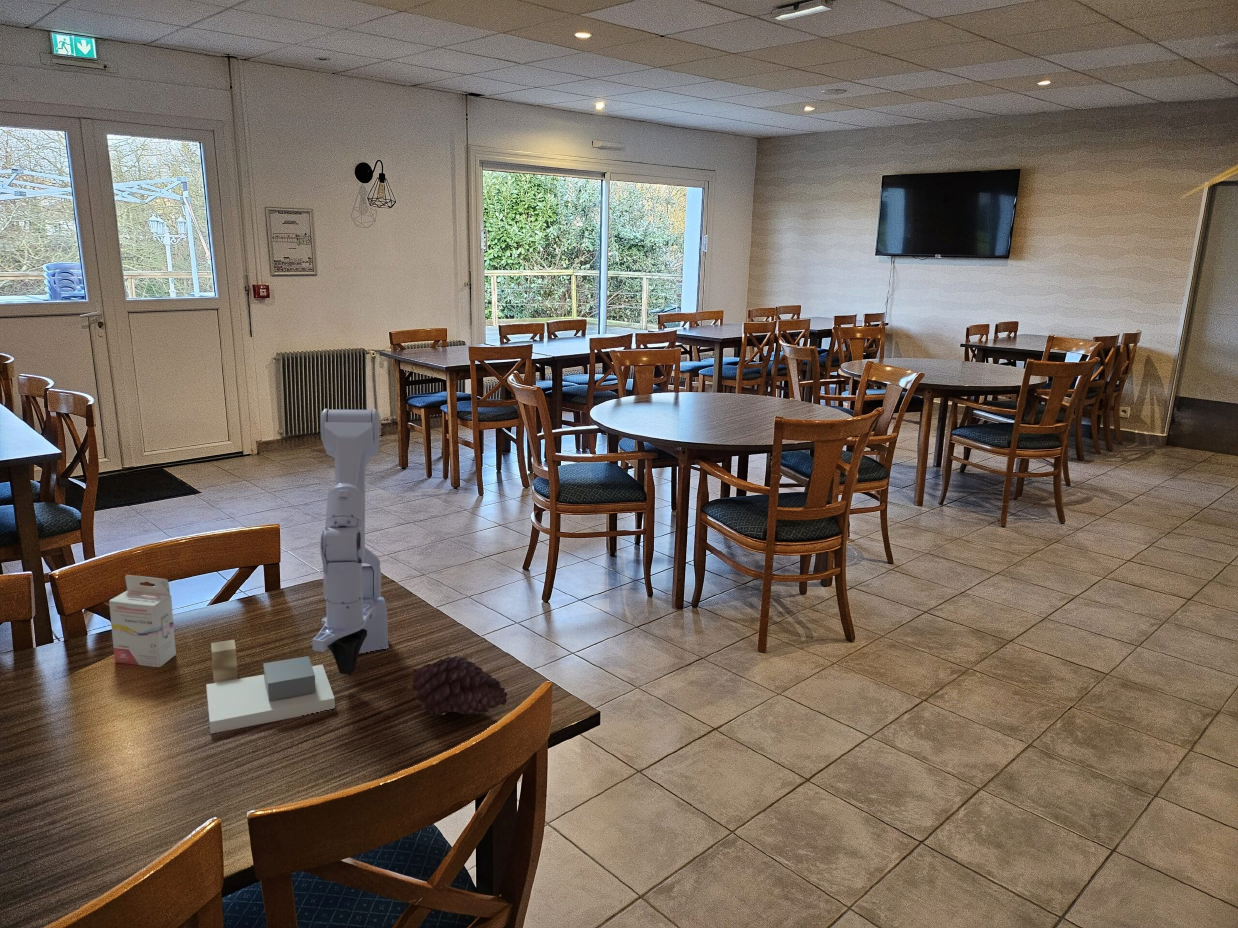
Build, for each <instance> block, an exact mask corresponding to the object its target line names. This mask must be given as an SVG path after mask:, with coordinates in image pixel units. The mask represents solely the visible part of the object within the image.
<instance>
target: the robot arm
mask: <svg viewBox="0 0 1238 928" xmlns="http://www.w3.org/2000/svg"><path fill="white" fill-rule="evenodd" d="M380 422H381V421H380V412H379V411H378V410H377V409H376V408H372V409H329V408H324V409H323V410H322V411H321V414H320V438H321V441H322V444H323V447H324V448H323V449H324V450H325V452H326V455H327V456H329V457H332V458H334V477H335V486H333V487H332V488H331V489H330V490H329V491H328V492H327V497H326V499H327V500H326V511H325V512H326V514H325V526H324V527H325V528H324V530H323V529H322V531H321V534H320V539H319V541H320V542H319V543H320V545H319V547H320V548H319V550H320V551H319V552H320V556H321V561H322V572H323V573H322V574H323V575H322V576H323V579H322V590H323V591H322V593H323V598H324V600H325V606H326V607H325V608H326V609H325V611H326V612H325V613H326V616H325V617H323V618H322V619H321V624H322V625H323V626H322V628H321V629H320V630H319V632H318V633H317V635H316V636H314V637H313V638H312V639H311V640H312V641H311V642H312V651H316V652H321V653H324V652H326V651H327V649H329V650H330V652H331V654H332V655H333V658H334V660H335V665H336V666H337V670H338V673H339V674H341V675H345V676H346V675H347V676H350V675H352V674H353V673H355V669H356V666H357V662H358V657H359V655H361V653H362V654H367V653H366V652H368V653H371V652H370V651H374V652H376V651H375V650H380V649H386V650H388V649H390V647H389V635H388V634H389V631H388V630H389V625H388V619H389V618H388V609H387V603H386V600H385V598H384V596H381V595H382V594H381V593H382V568H381V561H380V560H381V559H380V558H379V556H378V555H377V554H376V553H374V552H372V551H371V550H370V549H368V548H367V547H366V469H367V465H368V462H369V459H371V458H373V457H375V456H376V455H378V454H379V453H378V452H379V451H378V450H380V436H381V435H380V433H381V432H380V431H381V428H380V426H381V425H380ZM363 564H365V565H363ZM366 564H367V565H366ZM387 648H388V649H387ZM380 651H381V650H380Z"/></svg>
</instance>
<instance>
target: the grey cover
mask: <svg viewBox="0 0 1238 928" xmlns="http://www.w3.org/2000/svg"><path fill="white" fill-rule="evenodd" d="M312 666H313V665H312V662H311V659H310V657H309V655H307V656H301V657H295V658H294V657H293V658H289V659H283V660H277V661H271V662H270V661H269V662H263V675H264V681H265V686H266V690H267V695H268V699H269V701H270V700H276V699H281V698H286V697H292V696H297V695H303V694H308V693H313V692H316V689H315V674H314V671H313V668H312Z"/></svg>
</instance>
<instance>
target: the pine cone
mask: <svg viewBox="0 0 1238 928" xmlns="http://www.w3.org/2000/svg"><path fill="white" fill-rule="evenodd" d="M412 672H413V677H412V682H410V683H409V684H408V685H407V687H406V690H407V691H415V692H417V693H416V694H415V699H416V700H417V701H418V702H421V709H422V710H423V711H429V713H430V714H431V715H432V716H433V717H435V716H438V715H440V714H443V713H447V712H448V713H459V714H461V715H466V714H467V715H472V714H475V715H478V714H480V713H487V712H489V711H490V710H491V709H495V708H498V707H499V706H501V705H502V706H506V704H507V702H508V700H507V697H508V692H505V691H506V689H505V687H501V682H500V681H499V680H498V679H496V678H495V677H493V676H492V675H491V674H490V673H488V672H485V671H484V670H483V668H482V667H480V666H479V665H476V663H474V662H473V661H469V660H468V659H467V658H466V657H459V656H457V655H455V656H447V657H445V658H440V659H439V660H437V661H434V662H433V663H432V664H431V663H426V664H424V665H422V666H420V667H418V668H412ZM448 713H447V714H448Z"/></svg>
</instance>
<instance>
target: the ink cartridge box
mask: <svg viewBox="0 0 1238 928" xmlns="http://www.w3.org/2000/svg"><path fill="white" fill-rule="evenodd" d="M124 580H125V585H126V591H123V592H122V593H120V594H118V595H117V596H115V597H113V598H111V599H110V600H109V601H108V604H109V614H110V623H111V624H110V625H111V636H112V644H113V645H112V647H113V656H114V663H119V664H129V665H135V666H136V665H137V666H144V667H152V668H162V666H164V665H165V664H166V663H167V662H168V661H170V660H171V659H172V658H174V657H175V656H176V655H177V654H176V653H177V652H176V650H177V649H176V640H175V639H176V638H175V627H174V614H173V613H174V612H173V603H172V595H171V591H170V585H169V583H170V582H169V579H168V578H167V579H166V578H159V577H152V576H143V575H133V574H131V575H130V574H126V575H125V576H124ZM146 582H148V583H149V584H153V585H154V586H150V585H143V584H142V585H141V583H146Z"/></svg>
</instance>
